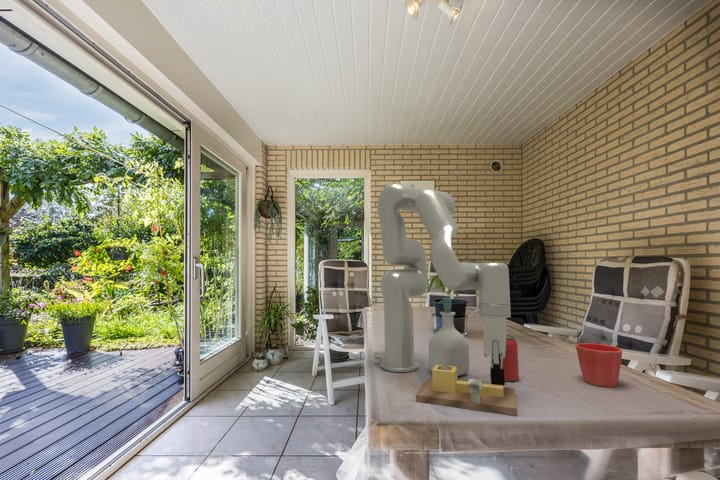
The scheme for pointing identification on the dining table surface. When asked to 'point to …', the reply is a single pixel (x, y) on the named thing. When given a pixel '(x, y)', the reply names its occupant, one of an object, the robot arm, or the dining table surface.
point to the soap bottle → (449, 344)
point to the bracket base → (469, 397)
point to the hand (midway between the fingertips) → (497, 384)
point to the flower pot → (599, 363)
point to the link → (459, 383)
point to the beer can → (511, 360)
